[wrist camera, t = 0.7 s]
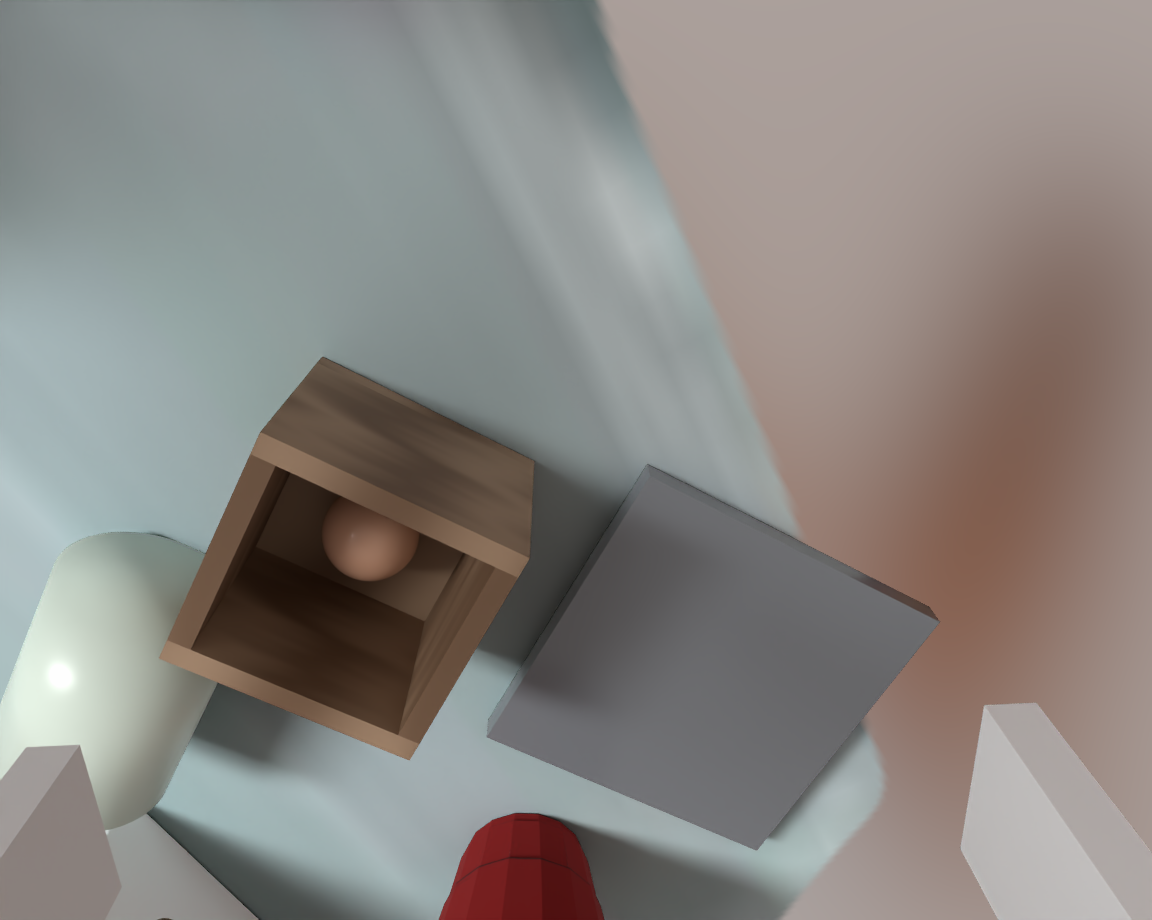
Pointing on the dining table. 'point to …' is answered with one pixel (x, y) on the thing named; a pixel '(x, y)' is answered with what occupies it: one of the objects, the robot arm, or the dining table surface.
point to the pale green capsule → (109, 670)
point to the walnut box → (340, 603)
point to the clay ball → (366, 541)
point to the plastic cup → (523, 874)
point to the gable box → (165, 879)
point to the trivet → (707, 662)
